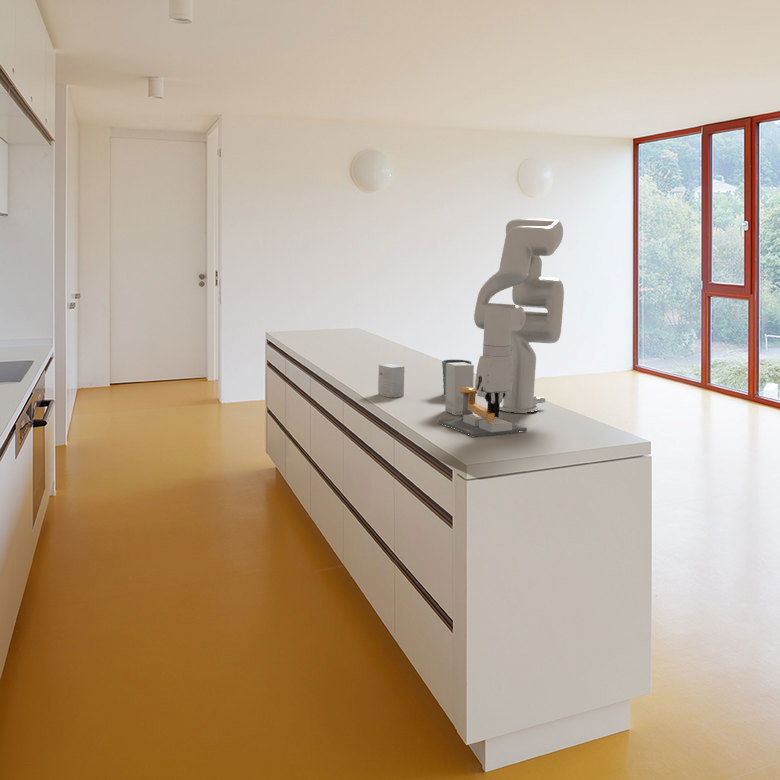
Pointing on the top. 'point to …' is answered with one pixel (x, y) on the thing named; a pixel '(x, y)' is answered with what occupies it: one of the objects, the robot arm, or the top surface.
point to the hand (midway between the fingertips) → (493, 416)
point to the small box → (391, 380)
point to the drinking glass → (445, 370)
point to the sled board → (476, 428)
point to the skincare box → (457, 385)
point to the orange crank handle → (474, 406)
